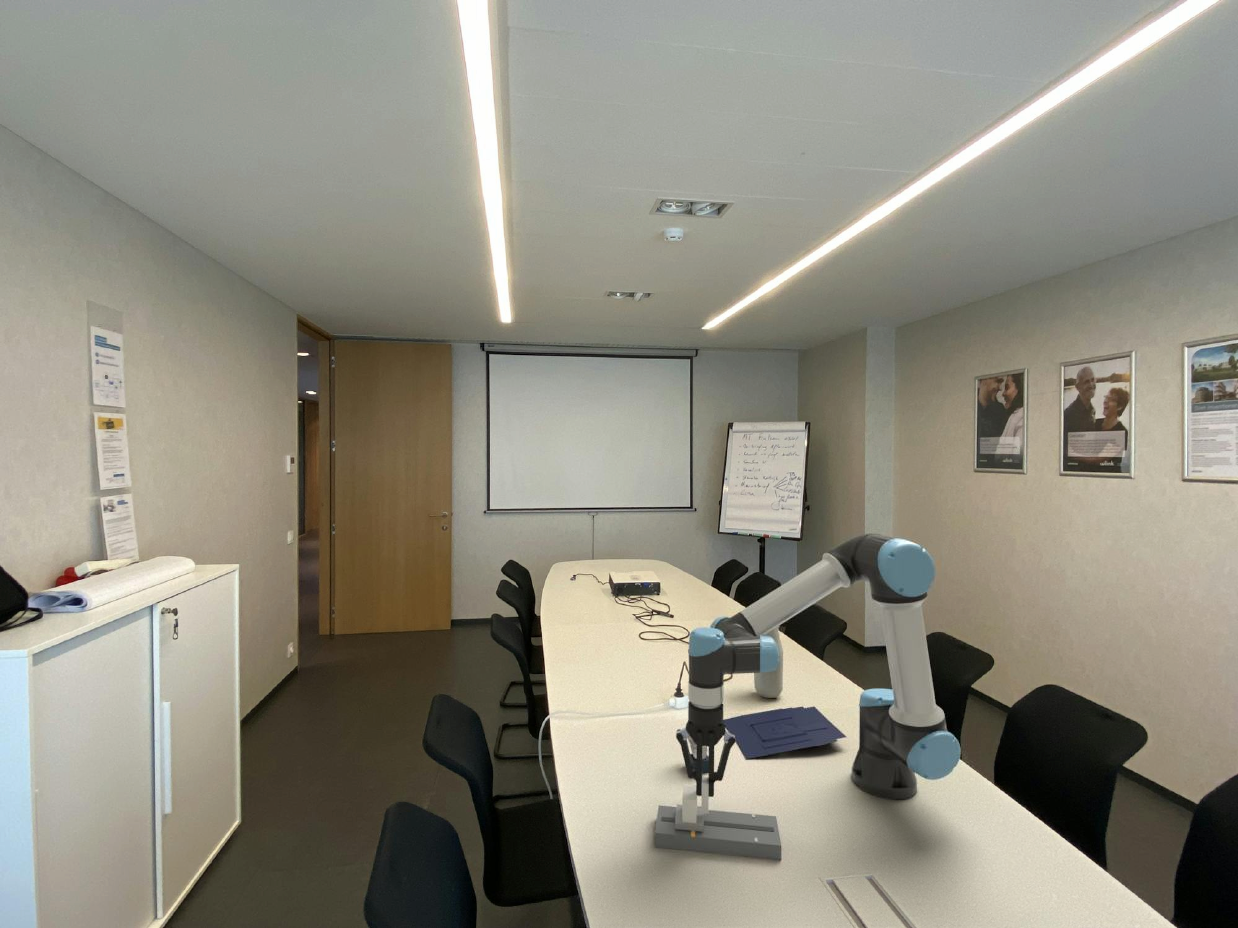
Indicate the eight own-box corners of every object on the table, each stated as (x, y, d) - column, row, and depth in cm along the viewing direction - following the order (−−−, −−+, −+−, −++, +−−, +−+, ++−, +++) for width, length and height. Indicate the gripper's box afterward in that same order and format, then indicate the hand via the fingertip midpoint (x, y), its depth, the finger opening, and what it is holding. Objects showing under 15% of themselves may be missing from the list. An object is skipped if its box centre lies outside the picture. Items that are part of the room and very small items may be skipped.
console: (775, 829, 132) (776, 815, 132) (781, 859, 122) (781, 844, 122) (658, 818, 136) (658, 804, 136) (654, 846, 126) (654, 831, 126)
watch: (702, 759, 162) (703, 719, 162) (713, 775, 154) (713, 733, 154) (683, 762, 161) (683, 721, 161) (692, 777, 153) (693, 735, 153)
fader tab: (703, 811, 133) (703, 784, 133) (703, 831, 126) (703, 802, 126) (676, 809, 134) (676, 781, 134) (674, 828, 127) (675, 799, 127)
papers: (851, 749, 166) (850, 736, 166) (747, 768, 162) (746, 755, 162) (812, 712, 190) (811, 700, 190) (721, 728, 186) (720, 716, 186)
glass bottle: (780, 690, 209) (780, 611, 209) (785, 703, 199) (786, 619, 199) (751, 689, 210) (752, 610, 210) (755, 701, 200) (755, 618, 200)
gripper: (735, 696, 132) (734, 802, 132) (676, 692, 134) (675, 797, 134) (737, 711, 124) (736, 823, 125) (674, 706, 126) (673, 817, 126)
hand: (704, 809), depth 129 cm, fingers closed
